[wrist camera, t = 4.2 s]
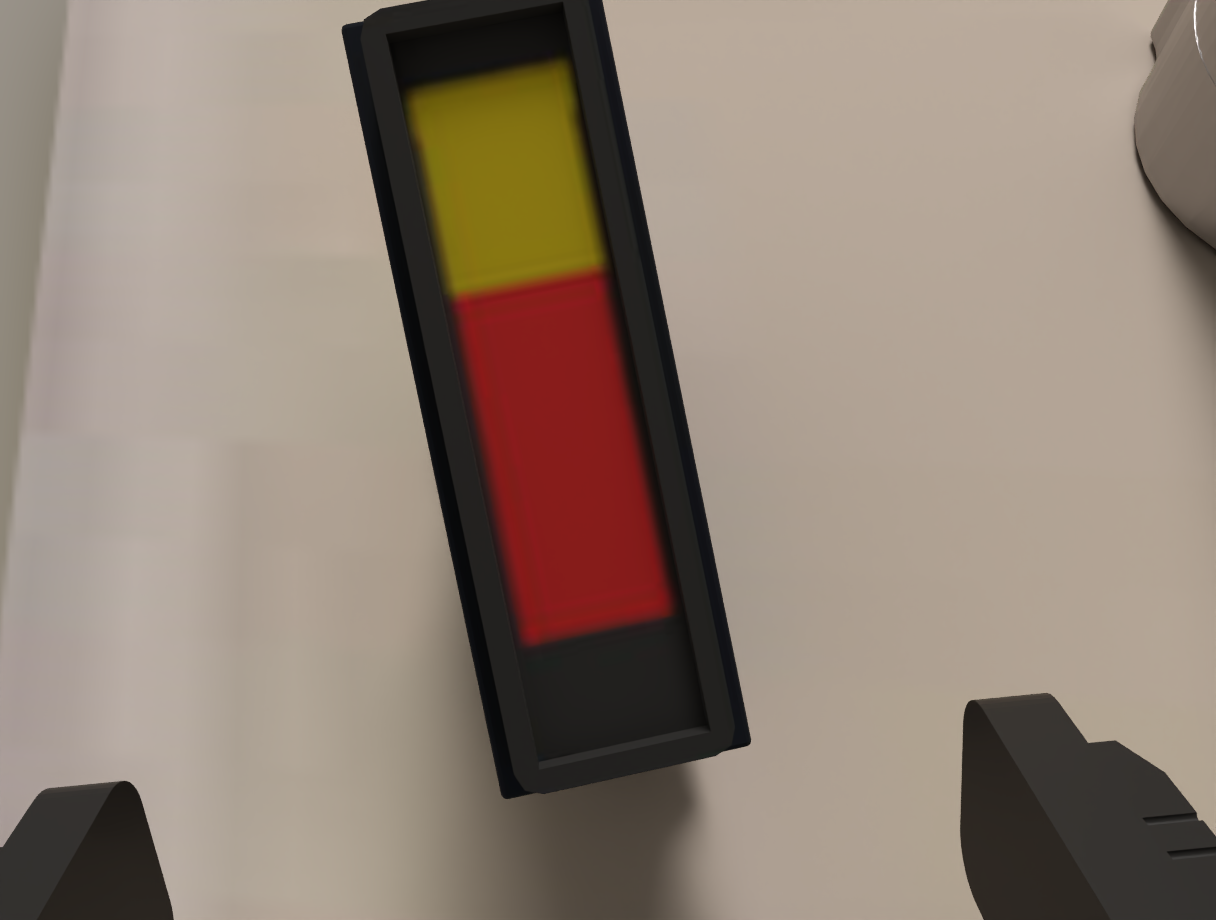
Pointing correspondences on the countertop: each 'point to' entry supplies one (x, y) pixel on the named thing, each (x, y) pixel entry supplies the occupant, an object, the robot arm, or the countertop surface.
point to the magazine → (547, 387)
